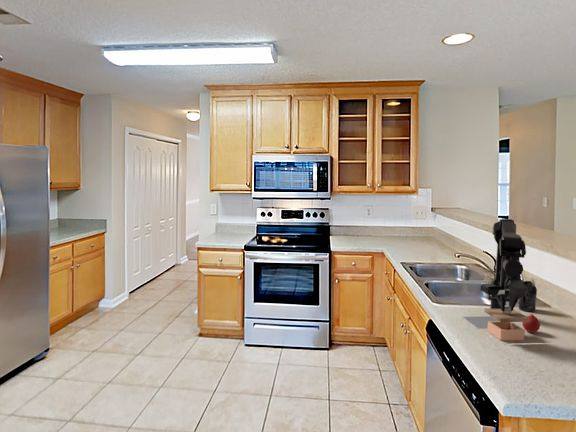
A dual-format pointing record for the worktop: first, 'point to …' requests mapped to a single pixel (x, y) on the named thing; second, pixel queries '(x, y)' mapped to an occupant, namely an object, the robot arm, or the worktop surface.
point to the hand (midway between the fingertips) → (506, 311)
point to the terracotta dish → (505, 331)
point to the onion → (531, 324)
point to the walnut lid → (507, 315)
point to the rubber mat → (480, 321)
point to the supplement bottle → (528, 302)
